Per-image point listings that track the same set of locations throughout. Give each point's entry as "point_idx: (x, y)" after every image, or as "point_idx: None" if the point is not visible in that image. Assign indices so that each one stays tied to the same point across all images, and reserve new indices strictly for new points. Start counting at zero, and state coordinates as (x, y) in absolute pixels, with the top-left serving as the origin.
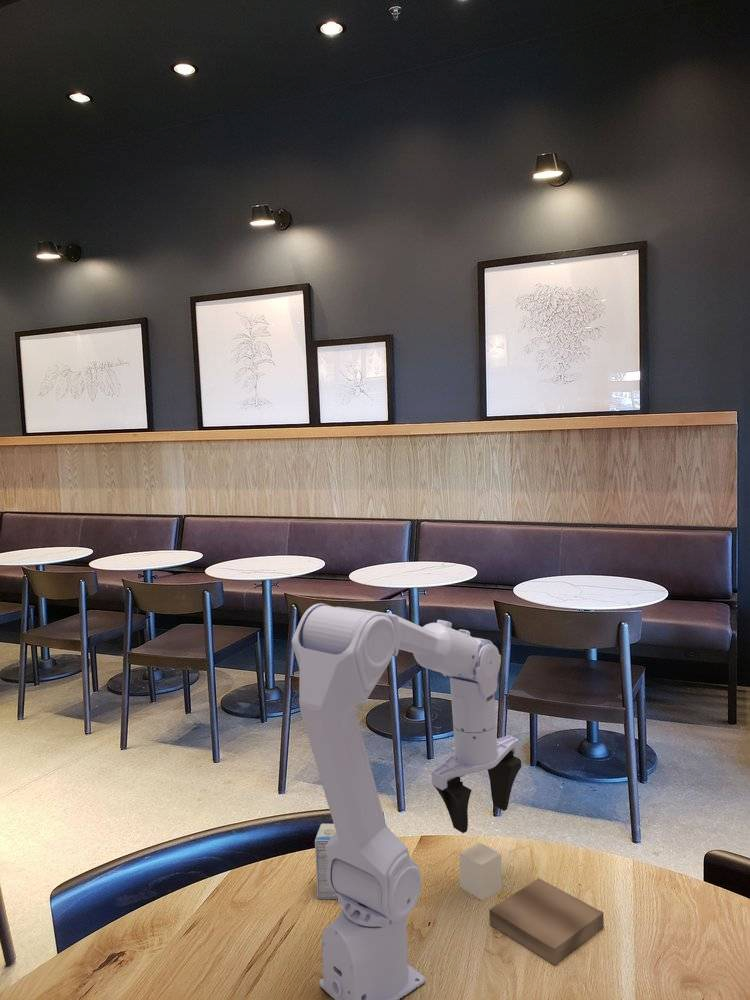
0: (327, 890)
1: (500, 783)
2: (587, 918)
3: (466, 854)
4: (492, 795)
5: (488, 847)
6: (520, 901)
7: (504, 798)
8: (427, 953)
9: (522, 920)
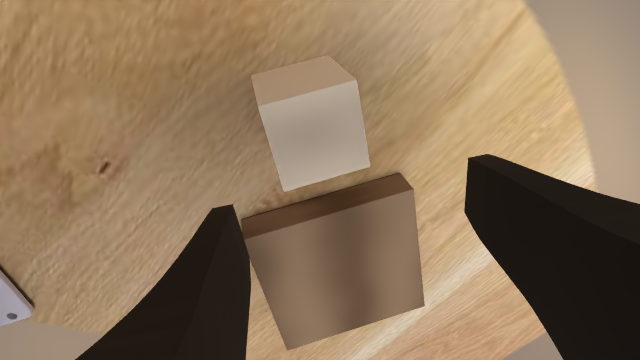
0: None
1: (549, 285)
2: (390, 310)
3: (274, 125)
4: (495, 177)
5: (361, 120)
6: (321, 240)
7: (497, 254)
8: (66, 247)
9: (285, 286)
